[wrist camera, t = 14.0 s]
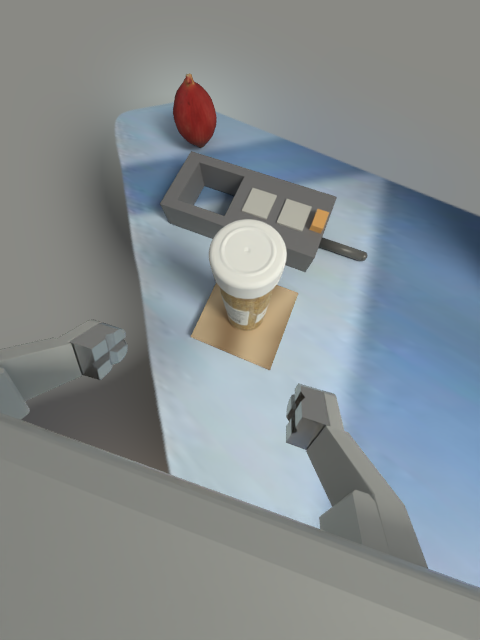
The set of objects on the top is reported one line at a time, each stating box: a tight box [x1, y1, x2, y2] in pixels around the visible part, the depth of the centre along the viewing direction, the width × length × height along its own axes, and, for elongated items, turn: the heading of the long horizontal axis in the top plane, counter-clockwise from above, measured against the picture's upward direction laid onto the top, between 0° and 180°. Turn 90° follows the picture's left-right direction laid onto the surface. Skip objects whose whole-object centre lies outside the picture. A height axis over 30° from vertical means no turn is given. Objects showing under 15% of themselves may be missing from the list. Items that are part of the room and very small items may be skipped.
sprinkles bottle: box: [209, 219, 287, 331], centre depth 18 cm, size 5×5×13 cm
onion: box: [173, 74, 216, 147], centre depth 28 cm, size 6×6×8 cm
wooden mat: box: [191, 282, 298, 370], centre depth 25 cm, size 10×10×1 cm
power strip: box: [160, 151, 367, 272], centre depth 26 cm, size 27×9×4 cm, turn 67°
